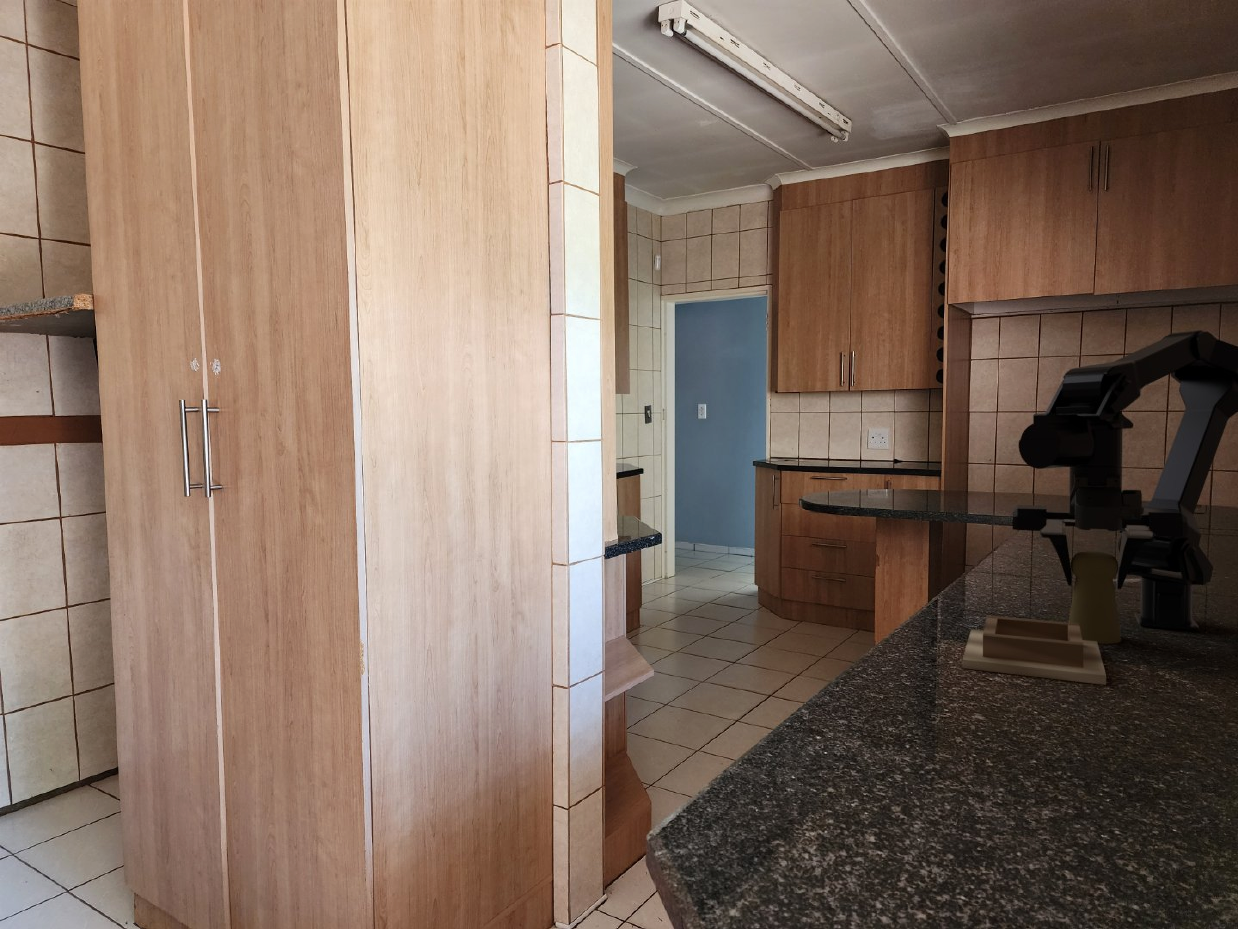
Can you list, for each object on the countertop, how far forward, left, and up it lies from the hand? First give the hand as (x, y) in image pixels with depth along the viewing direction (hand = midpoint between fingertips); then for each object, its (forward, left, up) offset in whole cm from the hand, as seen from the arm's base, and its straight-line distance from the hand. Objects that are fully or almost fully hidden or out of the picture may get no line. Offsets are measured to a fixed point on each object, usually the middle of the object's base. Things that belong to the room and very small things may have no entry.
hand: (1094, 586), depth 100 cm
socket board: (+13, -7, -6) cm, 16 cm away
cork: (0, 0, -7) cm, 7 cm away
